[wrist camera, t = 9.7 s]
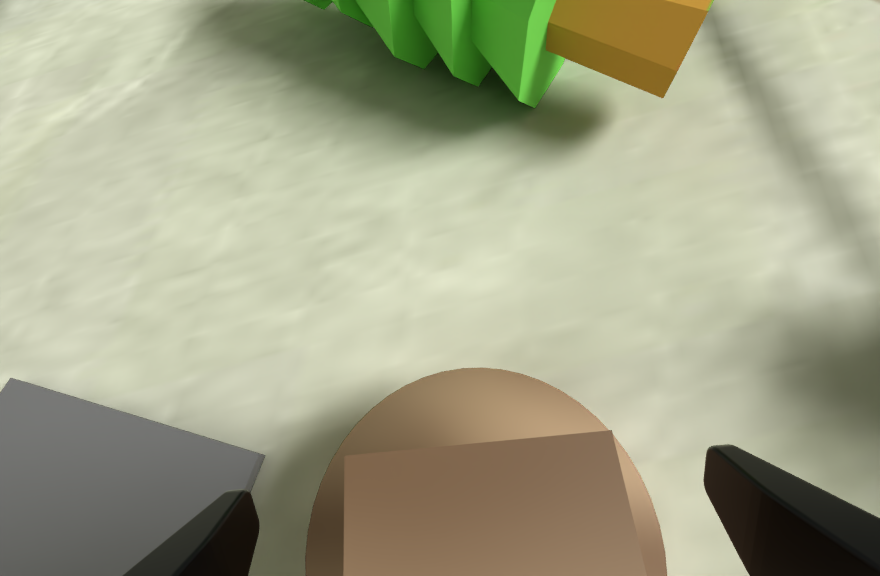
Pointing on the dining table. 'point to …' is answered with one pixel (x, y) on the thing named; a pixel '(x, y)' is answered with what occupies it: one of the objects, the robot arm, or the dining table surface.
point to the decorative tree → (537, 37)
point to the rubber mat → (99, 483)
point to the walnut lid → (482, 487)
